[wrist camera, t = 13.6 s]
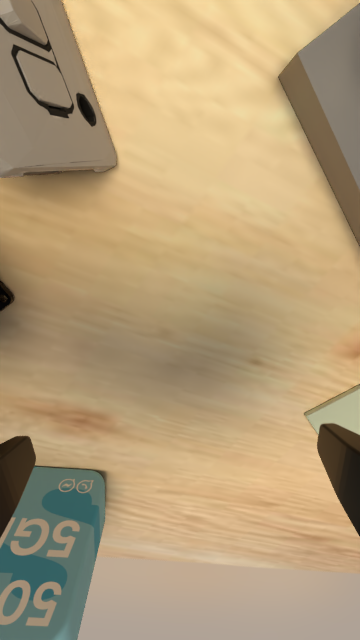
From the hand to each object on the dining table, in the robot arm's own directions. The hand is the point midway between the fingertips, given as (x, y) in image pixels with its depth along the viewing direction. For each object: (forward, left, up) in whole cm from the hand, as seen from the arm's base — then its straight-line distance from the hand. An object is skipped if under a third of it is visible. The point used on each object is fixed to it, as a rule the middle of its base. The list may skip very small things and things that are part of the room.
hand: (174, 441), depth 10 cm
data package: (-20, -7, -13) cm, 25 cm away
